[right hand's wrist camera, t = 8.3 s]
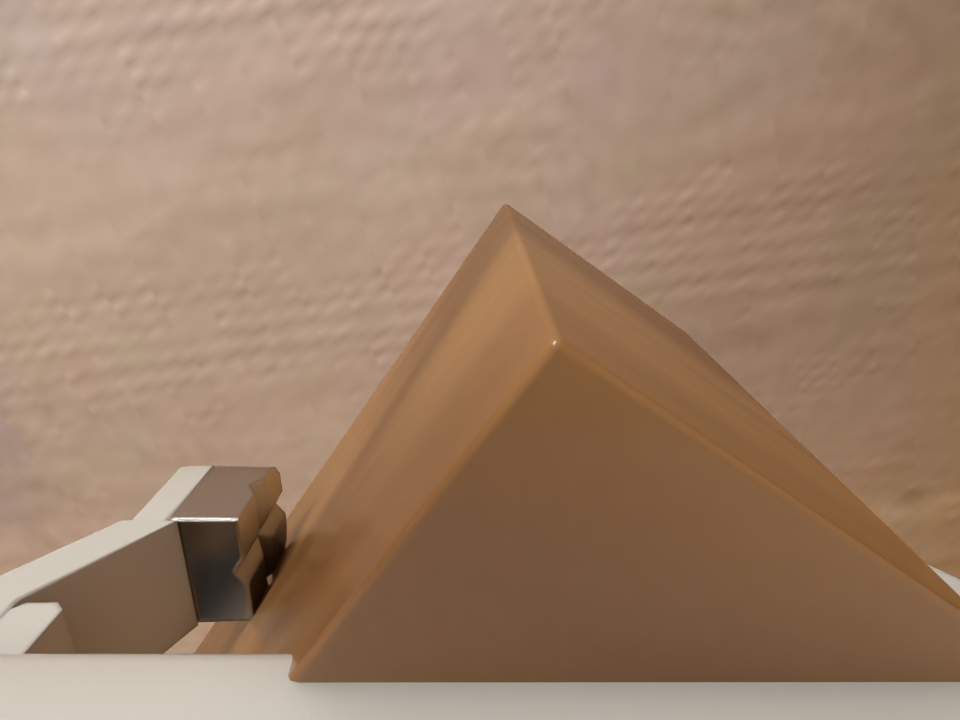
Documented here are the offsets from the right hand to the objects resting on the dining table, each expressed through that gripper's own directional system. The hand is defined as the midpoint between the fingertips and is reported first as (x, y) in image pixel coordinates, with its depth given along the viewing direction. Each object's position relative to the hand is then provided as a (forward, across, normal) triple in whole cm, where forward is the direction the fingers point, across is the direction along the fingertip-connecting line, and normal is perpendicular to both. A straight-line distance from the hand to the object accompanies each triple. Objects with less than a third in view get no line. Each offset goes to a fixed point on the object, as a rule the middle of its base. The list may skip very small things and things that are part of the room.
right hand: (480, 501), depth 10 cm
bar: (+3, -4, -6) cm, 8 cm away
